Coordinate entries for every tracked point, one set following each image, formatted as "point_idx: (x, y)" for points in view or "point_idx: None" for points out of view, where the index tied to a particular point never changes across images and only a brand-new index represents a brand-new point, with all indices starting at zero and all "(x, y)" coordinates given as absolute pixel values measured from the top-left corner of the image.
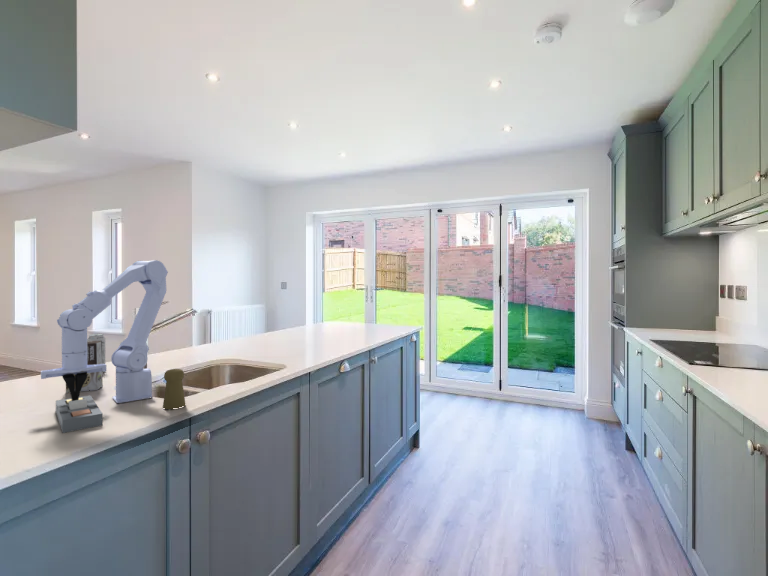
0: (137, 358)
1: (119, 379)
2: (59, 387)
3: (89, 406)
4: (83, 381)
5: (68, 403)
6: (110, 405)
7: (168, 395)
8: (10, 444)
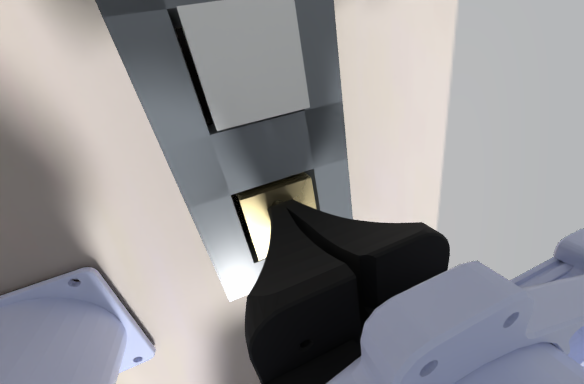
0: None
1: None
2: None
3: (163, 22)
4: (269, 273)
5: (305, 177)
6: (126, 248)
7: None
8: None
